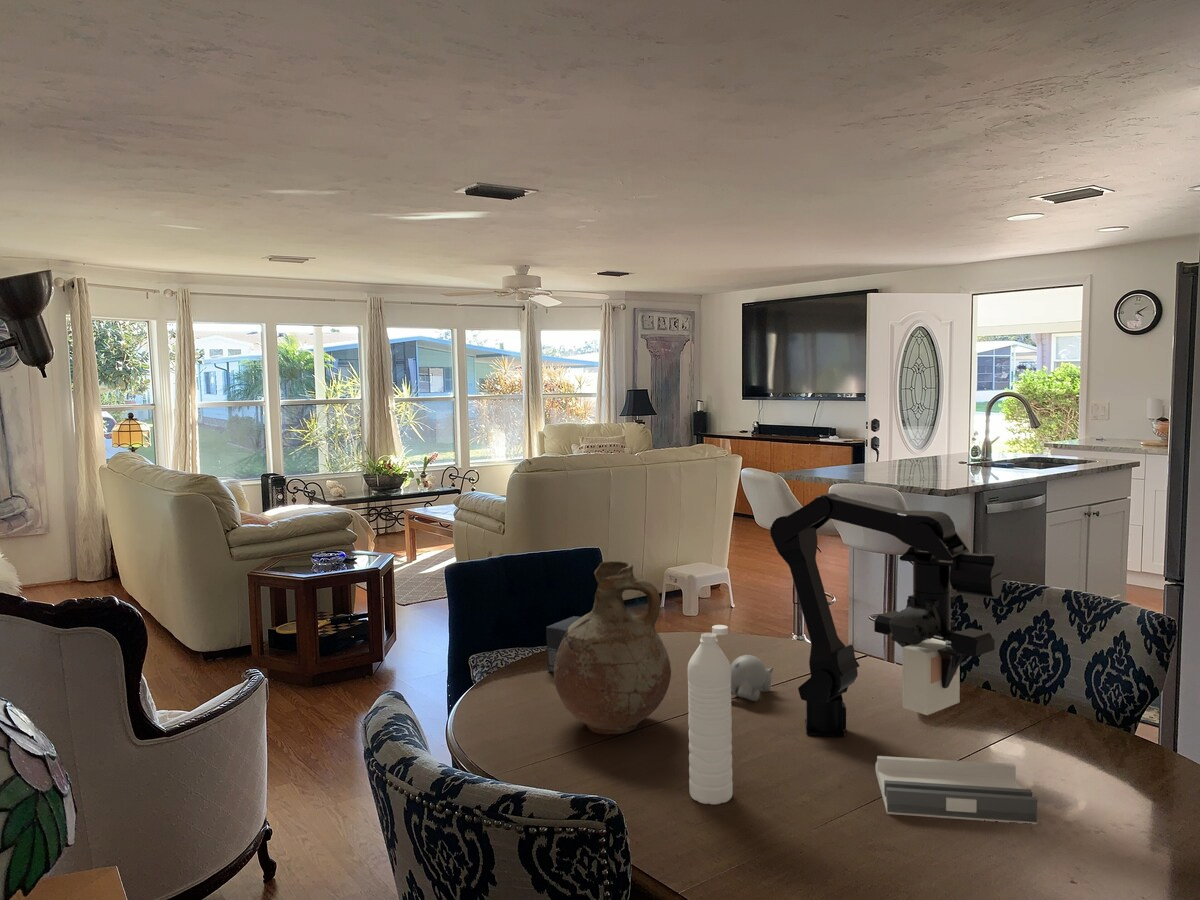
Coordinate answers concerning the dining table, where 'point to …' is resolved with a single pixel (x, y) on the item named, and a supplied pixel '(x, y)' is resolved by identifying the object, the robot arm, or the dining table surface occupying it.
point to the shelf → (954, 790)
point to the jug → (613, 657)
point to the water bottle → (710, 721)
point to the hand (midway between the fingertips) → (931, 683)
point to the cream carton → (927, 678)
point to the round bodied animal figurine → (749, 677)
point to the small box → (556, 639)
